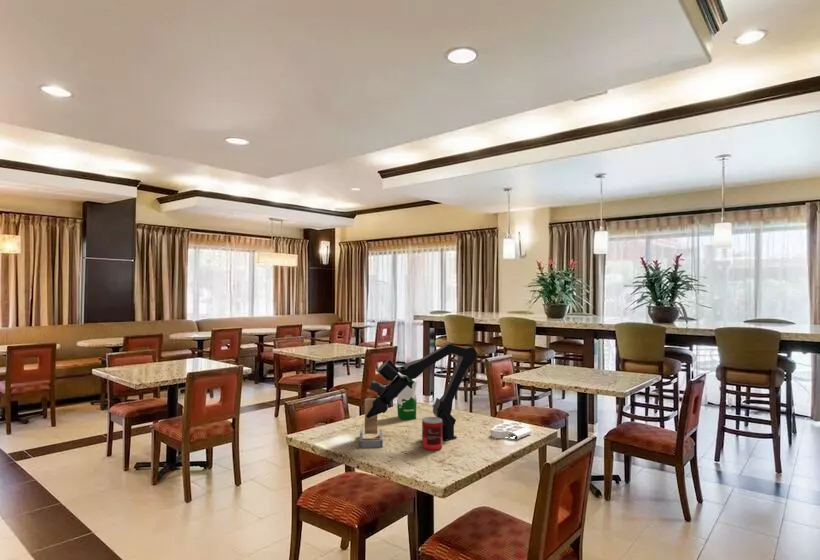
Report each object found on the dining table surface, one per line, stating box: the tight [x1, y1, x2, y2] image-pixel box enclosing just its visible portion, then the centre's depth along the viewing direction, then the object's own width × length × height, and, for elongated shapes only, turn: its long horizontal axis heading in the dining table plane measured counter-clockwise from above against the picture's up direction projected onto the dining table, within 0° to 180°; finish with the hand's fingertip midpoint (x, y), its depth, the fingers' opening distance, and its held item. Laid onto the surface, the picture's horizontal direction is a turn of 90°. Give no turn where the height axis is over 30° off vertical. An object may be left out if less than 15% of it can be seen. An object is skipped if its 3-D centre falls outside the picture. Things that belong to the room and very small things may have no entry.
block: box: [364, 397, 378, 435], centre depth 196 cm, size 5×5×13 cm
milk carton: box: [396, 375, 418, 421], centre depth 232 cm, size 9×9×20 cm
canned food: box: [421, 416, 443, 452], centre depth 186 cm, size 8×8×11 cm
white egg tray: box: [490, 421, 533, 440], centre depth 204 cm, size 3×18×15 cm
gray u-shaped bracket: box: [358, 429, 384, 448], centre depth 194 cm, size 15×9×2 cm, turn 4°
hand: (367, 415), depth 196 cm, fingers closed on block, 5 cm apart
